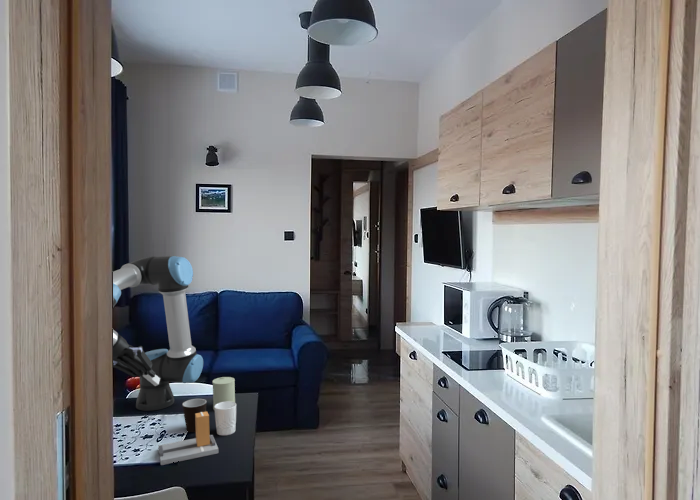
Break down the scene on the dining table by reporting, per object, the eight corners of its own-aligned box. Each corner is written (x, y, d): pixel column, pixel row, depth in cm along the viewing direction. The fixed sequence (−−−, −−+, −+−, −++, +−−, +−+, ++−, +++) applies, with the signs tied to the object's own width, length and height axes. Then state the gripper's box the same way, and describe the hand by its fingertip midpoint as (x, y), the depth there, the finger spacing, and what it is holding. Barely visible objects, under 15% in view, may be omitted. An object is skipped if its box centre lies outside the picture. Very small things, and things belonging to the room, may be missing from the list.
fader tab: (196, 442, 163) (195, 412, 163) (208, 439, 165) (207, 410, 165) (197, 446, 160) (196, 417, 159) (209, 444, 162) (209, 414, 161)
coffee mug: (200, 434, 173) (199, 407, 173) (178, 433, 175) (177, 406, 175) (215, 421, 185) (214, 396, 184) (195, 420, 187) (194, 395, 186)
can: (231, 401, 206) (231, 374, 206) (238, 408, 198) (237, 380, 198) (210, 406, 202) (209, 378, 201) (216, 413, 194) (215, 384, 193)
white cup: (225, 438, 170) (224, 410, 170) (210, 433, 174) (209, 406, 174) (241, 430, 177) (240, 403, 176) (226, 425, 181) (225, 399, 181)
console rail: (158, 449, 162) (158, 442, 162) (212, 438, 170) (212, 432, 170) (160, 465, 151) (160, 457, 151) (218, 453, 159) (218, 445, 159)
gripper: (89, 359, 151) (139, 397, 165) (122, 343, 149) (171, 384, 162) (96, 341, 157) (144, 380, 171) (128, 326, 155) (175, 367, 168)
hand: (157, 382), depth 167 cm, fingers closed
